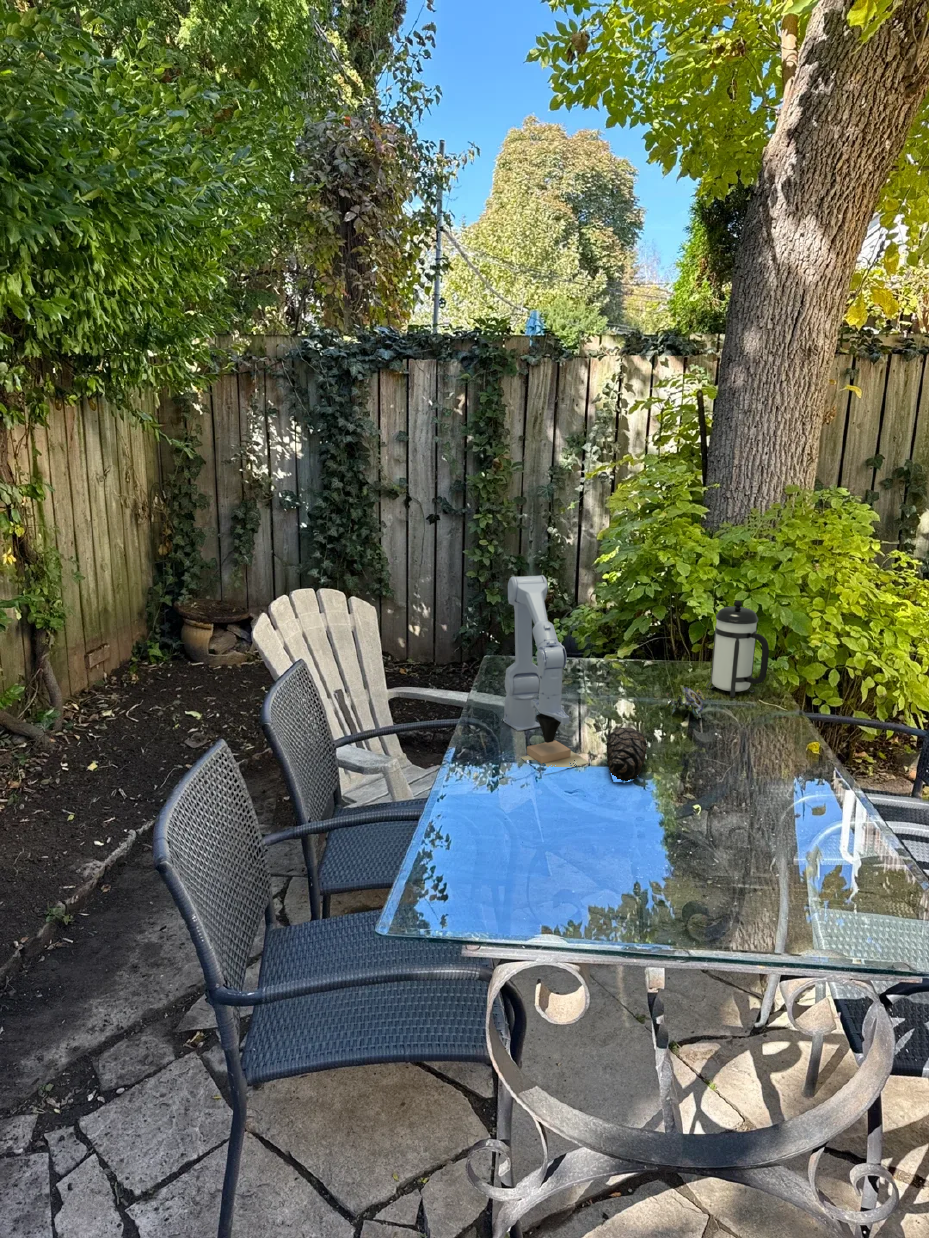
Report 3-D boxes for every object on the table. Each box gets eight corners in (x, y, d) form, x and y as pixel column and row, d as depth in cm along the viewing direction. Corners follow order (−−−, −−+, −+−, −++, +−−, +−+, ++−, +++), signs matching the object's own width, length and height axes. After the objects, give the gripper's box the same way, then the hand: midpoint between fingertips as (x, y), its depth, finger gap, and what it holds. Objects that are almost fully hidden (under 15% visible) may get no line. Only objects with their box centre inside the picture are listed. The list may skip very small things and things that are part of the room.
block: (526, 746, 208) (541, 756, 202) (555, 740, 212) (570, 749, 206) (526, 753, 208) (541, 764, 202) (555, 747, 212) (570, 757, 206)
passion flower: (696, 735, 235) (708, 713, 226) (659, 726, 237) (670, 704, 227) (698, 704, 242) (710, 682, 233) (663, 696, 244) (673, 673, 234)
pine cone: (606, 785, 192) (608, 747, 189) (604, 755, 209) (606, 719, 206) (650, 788, 190) (653, 749, 188) (644, 757, 207) (647, 721, 205)
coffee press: (706, 696, 252) (713, 605, 245) (706, 681, 267) (713, 594, 259) (764, 702, 247) (773, 609, 240) (761, 686, 262) (770, 597, 254)
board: (520, 758, 206) (520, 757, 206) (564, 748, 213) (564, 746, 213) (544, 775, 197) (544, 773, 197) (589, 763, 203) (589, 762, 203)
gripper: (580, 698, 199) (578, 748, 202) (547, 681, 211) (546, 728, 214) (556, 702, 195) (555, 753, 199) (525, 685, 208) (523, 733, 211)
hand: (548, 741), depth 206 cm, fingers closed
